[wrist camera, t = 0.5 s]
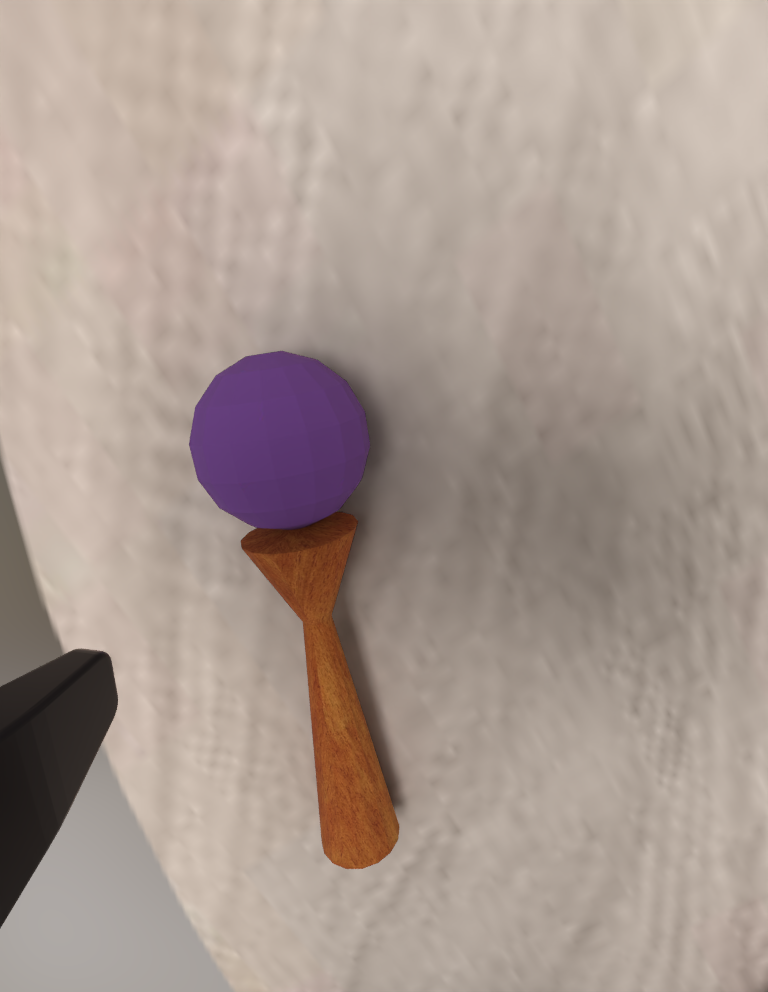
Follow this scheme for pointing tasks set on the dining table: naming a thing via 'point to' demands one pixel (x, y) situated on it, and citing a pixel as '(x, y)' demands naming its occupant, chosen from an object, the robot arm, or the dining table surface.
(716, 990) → the dining table surface
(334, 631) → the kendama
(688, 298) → the dining table surface
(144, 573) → the dining table surface
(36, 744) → the robot arm
